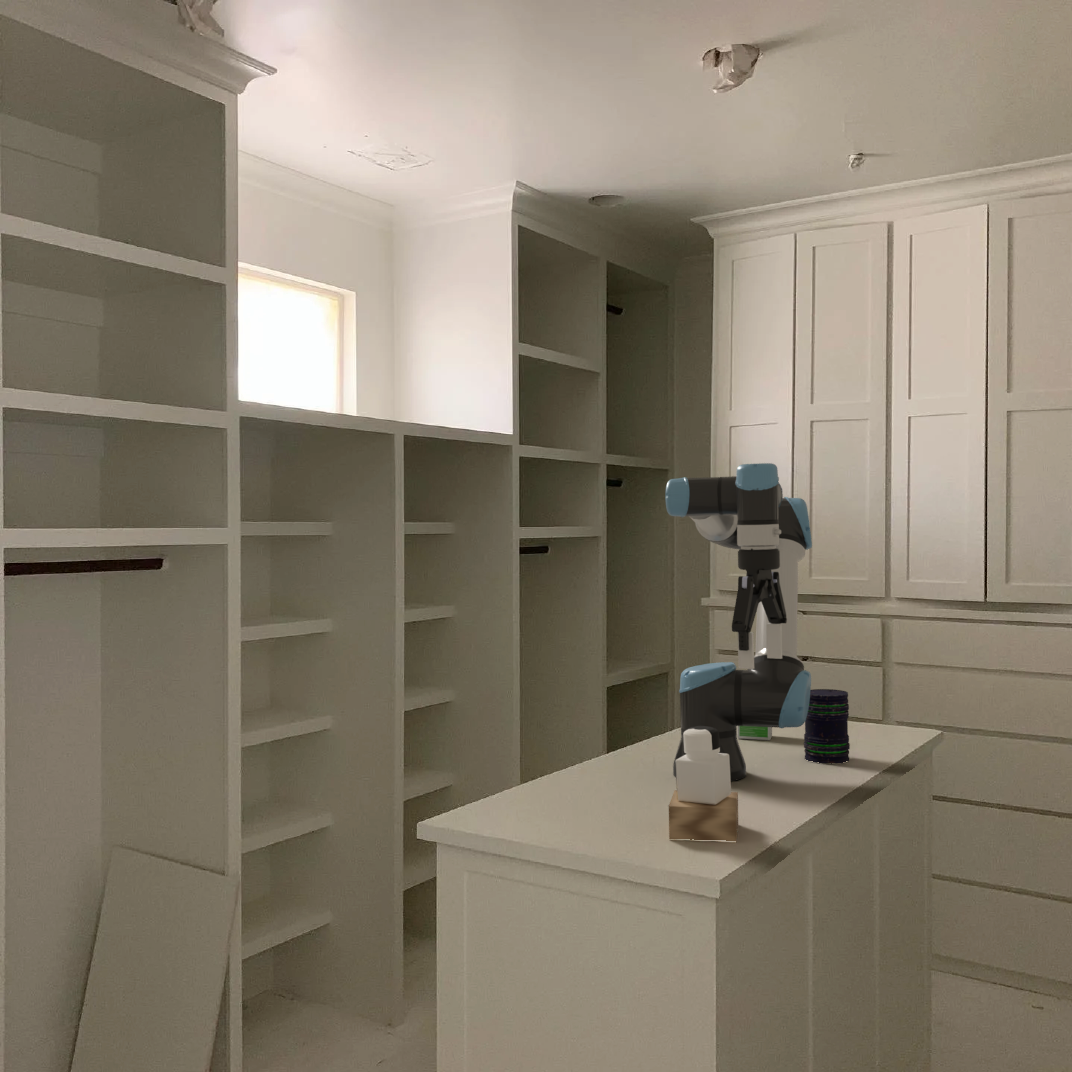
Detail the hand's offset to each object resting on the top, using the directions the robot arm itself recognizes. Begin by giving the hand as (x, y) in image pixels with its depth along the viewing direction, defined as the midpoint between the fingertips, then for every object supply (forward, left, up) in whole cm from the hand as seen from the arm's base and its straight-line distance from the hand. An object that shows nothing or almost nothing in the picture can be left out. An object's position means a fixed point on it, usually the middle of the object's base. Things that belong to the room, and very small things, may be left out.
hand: (760, 663), depth 197 cm
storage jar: (-3, +47, -27) cm, 55 cm away
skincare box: (-26, +64, -27) cm, 74 cm away
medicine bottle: (-3, -19, -21) cm, 29 cm away
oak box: (-4, -19, -27) cm, 33 cm away
